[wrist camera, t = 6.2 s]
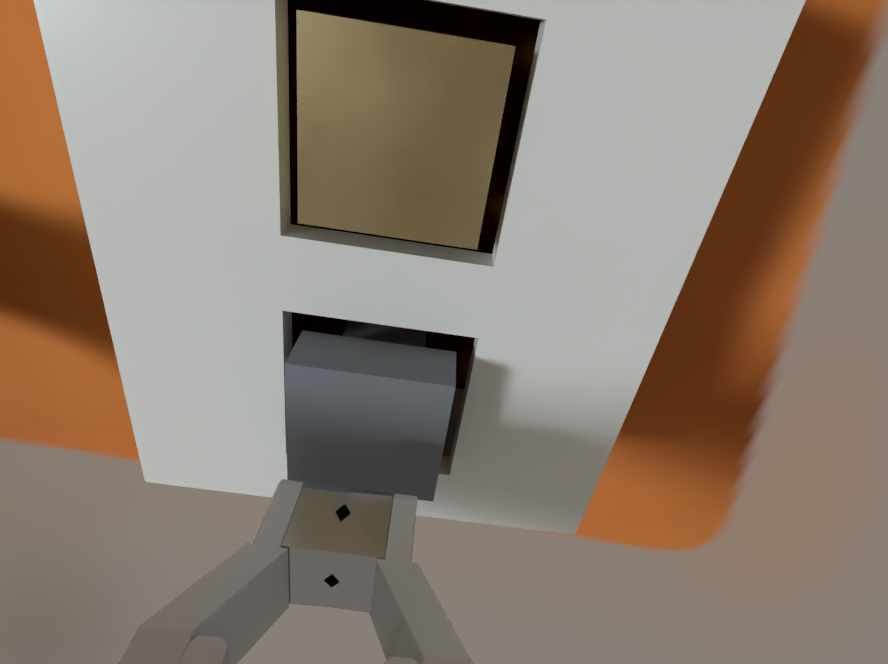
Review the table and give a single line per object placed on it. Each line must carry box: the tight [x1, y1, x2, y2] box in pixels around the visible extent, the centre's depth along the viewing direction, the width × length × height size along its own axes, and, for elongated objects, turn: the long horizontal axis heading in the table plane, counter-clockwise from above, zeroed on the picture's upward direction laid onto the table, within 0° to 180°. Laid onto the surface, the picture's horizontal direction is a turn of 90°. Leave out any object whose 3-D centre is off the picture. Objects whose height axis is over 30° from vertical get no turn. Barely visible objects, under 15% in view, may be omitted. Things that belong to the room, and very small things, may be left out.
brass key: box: [296, 10, 516, 250], centre depth 12 cm, size 4×4×4 cm
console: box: [34, 0, 806, 535], centre depth 15 cm, size 16×14×6 cm
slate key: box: [285, 320, 456, 501], centre depth 15 cm, size 4×4×4 cm
